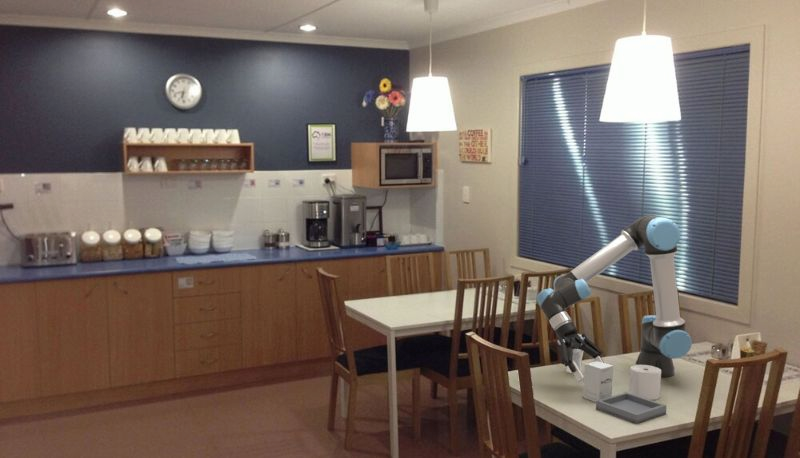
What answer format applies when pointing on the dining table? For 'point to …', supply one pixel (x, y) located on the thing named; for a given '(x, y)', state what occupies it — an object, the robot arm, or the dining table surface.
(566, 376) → the dining table surface
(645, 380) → the toilet tissue
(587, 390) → the supplement box
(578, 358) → the beer glass
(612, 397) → the holder tray
